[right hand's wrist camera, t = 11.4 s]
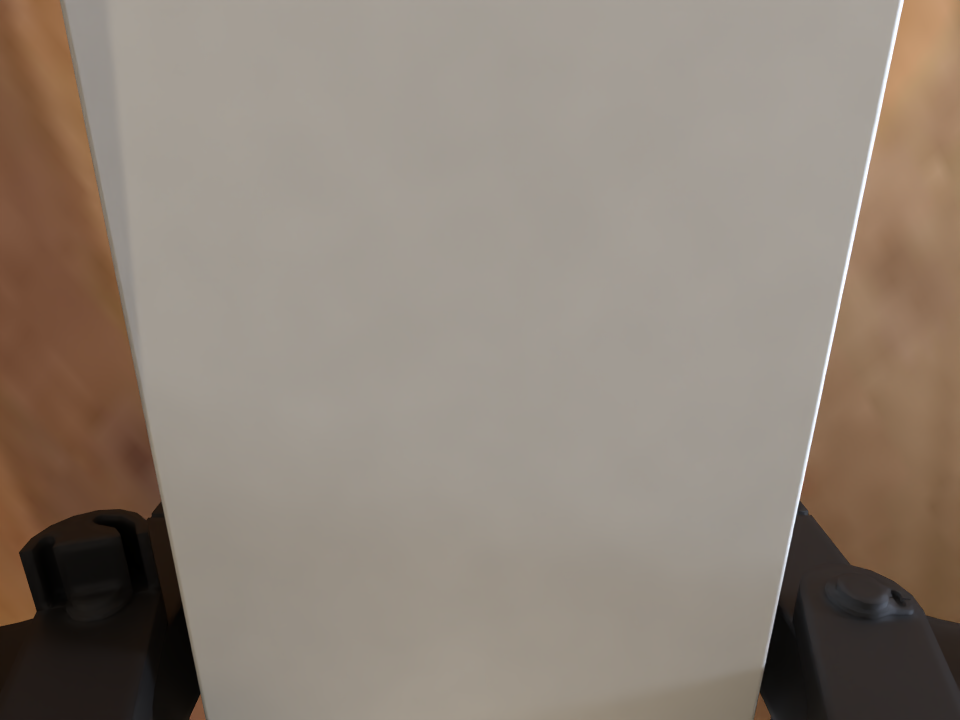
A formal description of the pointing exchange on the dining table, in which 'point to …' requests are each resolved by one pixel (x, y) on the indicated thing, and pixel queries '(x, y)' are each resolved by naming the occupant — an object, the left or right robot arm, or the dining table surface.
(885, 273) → the dining table surface
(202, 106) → the post
